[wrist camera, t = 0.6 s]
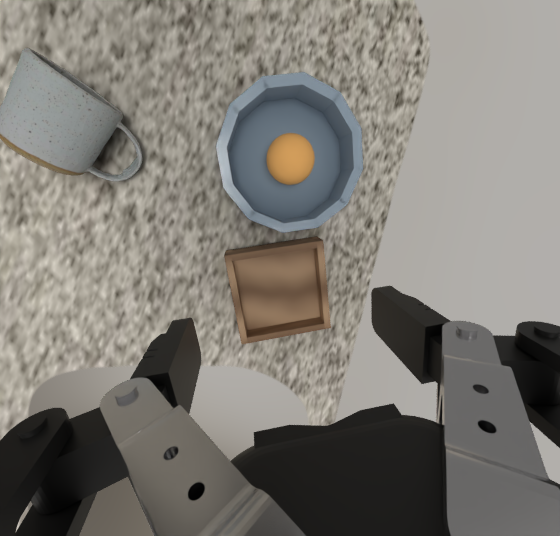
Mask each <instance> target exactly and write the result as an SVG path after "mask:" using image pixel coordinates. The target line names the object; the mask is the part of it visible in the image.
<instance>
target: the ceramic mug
mask: <svg viewBox="0 0 560 536" xmlns="http://www.w3.org/2000/svg"><path fill="white" fill-rule="evenodd" d="M122 118H123V114H122V113H121V112H120V111H119V110H118V109H117V108H116V107H115V106H114V105H112V104H111V103H109V102H108V101H107V100H106V99H105V98H103V97H102V96H101V95H99V94H98V93H96V92H95V91H94V90H93V89H91V88H90V87H88V86H87V85H86V84H84V83H83V82H81V81H80V80H78V79H77V78H76V77H74V76H73V75H71V74H70V73H68V72H67V71H66V70H64V69H63V68H61V67H59V66H58V65H56V64H55V63H53V62H52V61H50V60H48V59H47V58H45V57H44V56H42V55H40V54H38V53H37V52H35V51H33V50H31V49H30V48H25V49H24V50H23V51H22V54H21V57H20V60H19V62H18V65H17V67H16V70H15V72H14V75H13V77H12V80H11V82H10V86H9V88H8V91H7V94H6V96H5V99H4V101H3V103H2V105H1V108H0V138H1V140H2V141H3V142H4V143H5V144H6V145H7V146H8V147H10V148H11V149H12V150H14V151H15V152H17V153H18V154H20V155H22V156H23V157H25V158H27V159H29V160H31V161H33V162H35V163H37V164H39V165H41V166H43V167H46V168H48V169H50V170H53V171H56V172H58V173H62V174H66V175H81V174H83V173H85V172H86V171H87V172H91V173H92V174H94V175H96V176H97V177H100V178H103V179H105V180H110V181H122V180H126V179H129V178H130V177H132V176H133V175H134V174H135V173H136V172H137V171H138V170H139V168H140V166H141V164H142V151H141V148H140V145H139V143H138V141H137V139H136V138H135V137H134V135H133V134H132V133H131V132H130V131H129V130H128V129H127V128H126V126H124V125H123V124H122V123H121V120H122ZM117 127H118V128H120V129H122V130H123V131H124V132H125V133H126V135H127V136H128V137H129V138H130V139H131V141H132V142H133V144H134V146H135V149H136V153H137V158H136V159H135V160H134V162H133V163H132V164H131V166H130V167H128V168H127V169H125V170H124V171H123V173H122V174H120V175H111V174H108V173H104V172H102V171H100V170H98V169H96V168H94V167H93V166H92V164H93V163H94V161H95V160H96V159H97V157H98V156H99V154H100V153H101V150H102V148H103V147H104V145H105V144H106V143H107V141H108V140H109V139H110V137H111V135H112V134H113V132H114V131H115V129H116V128H117Z"/></svg>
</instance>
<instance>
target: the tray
mask: <svg viewBox="0 0 560 536" xmlns="http://www.w3.org/2000/svg"><path fill="white" fill-rule="evenodd" d="M224 257H225V262H226V267H227V272H228V277H229V282H230V287H231V292H232V297H233V302H234V308H235V313H236V318H237V323H238V328H239V333H240V338H241V343H242V344H246V343H252V342H257V341H262V340H268V339H273V338H278V337H284V336H289V335H294V334H300V333H305V332H311V331H316V330H321V329H327V328H331V326H330V315H329V303H328V291H327V280H326V268H325V256H324V245H323V240H322V239H320V238H318V237H310V238H304V239H297V240H291V241H284V242H278V243H272V244H265V245H259V246H252V247H246V248H239V249H233V250H227V251H226V252H225V255H224Z"/></svg>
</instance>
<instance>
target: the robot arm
mask: <svg viewBox="0 0 560 536" xmlns="http://www.w3.org/2000/svg"><path fill="white" fill-rule="evenodd" d="M372 325H373V328H374V330H375V332H376V334H377V335H378V336H379V337H380V338H381V339H382V340H383V341H384V342H385V344H386V345H387V346H388V347H389V348H390V349H391V350H392V351H393V352H394V353H395V355H396V356H397V357H398V358H399V359H400V360H401V361H402V362H403V364H404V365H405V366H406V367H407V368H408V369H409V370H410V371H411V372H412V374H413V375H414V376H415V377H416V378H417V379H418V380H419V381H420V382H421V384H424V383H429V382H434V381H436V382H437V383H438V385H437V408H436V422H434V421H431V420H428V419H424V418H420V417H416V416H408V415H401V413H400V412H399V411H398V409H397V408H396V406H395V405H394V404H389V405H385V406H379V407H374V408H370V409H365V410H360V411H358V412H356V413H354V414H352V415H350V416H348V417H346V418H344V419H342V420H340V421H338V422H336V423H334V424H331V425H328V426H310V425H306V426H305V425H287V426H283V427H277V428H272V429H268V430H263V431H258V432H254V446H252V447H250V448H249V449H247V450H245V451H243V452H242V453H240V454H239V455H237V456H236V457H235V458H234V459H232V460H231V461H230V460H229V459H228V458H227V457H226V456H225V455H224V454H223V452H222V451H221V450H220V449H219V448H218V447H217V446H216V445H215V444H214V442H213V441H212V440H211V439H210V438H209V437H208V436H207V434H206V433H205V432H204V431H203V430H202V429H201V428H200V426H199V425H198V424H197V423H196V422H195V421H194V420H193V419H192V417H191V416H190V415H189V412H190V408H191V404H192V400H193V395H194V391H195V387H196V382H197V378H198V374H199V369H200V365H201V352H200V347H199V343H198V338H197V334H196V330H195V326H194V322H193V320H192V318H186V319H180V320H174V321H172V323H171V325H170V327H169V328H168V330H167V332H166V333H165V334H160V335H159V336H158V337H157V338H156V339H155V340H153V341H152V342H151V344H150V346H149V347H148V349H147V352H145V354H144V356H143V359H141V361H140V363H139V365H138V366H137V368H136V370H135V372H134V373H133V375H132V377H131V378H130V380H127V381H125V382H122V383H121V384H119V385H117V386H115V387H114V388H112V389H111V390H110V391H109V392H107V393H106V394H105V396H104V397H103V398H102V400H101V402H100V407H99V408H96V409H94V410H92V411H89V412H87V413H84V414H81V415H79V416H76V417H74V418H71V419H69V417H68V415H67V413H66V411H65V410H64V409H62V408H52V409H48V410H44V411H41V412H39V413H37V414H34V415H32V416H30V417H28V418H27V419H25V420H23V421H22V422H20V423H19V424H17V425H16V426H15V427H13V428H12V429H11V430H10V431H9V432H8V433H7V434H6V435H5V436H4V437H3V438H2V439H1V440H0V536H79V534H80V532H81V530H82V527H83V525H84V522H85V520H86V517H87V515H88V513H89V510H90V508H91V505H92V503H93V501H94V499H95V496H96V494H97V492H98V491H100V490H102V489H104V488H106V487H108V486H110V485H112V484H114V483H116V482H118V481H120V480H122V479H124V478H126V477H128V478H129V480H130V483H131V485H132V487H133V489H134V492H135V494H136V496H137V498H138V501H139V503H140V505H141V507H142V510H143V512H144V514H145V516H146V519H147V521H148V523H149V525H150V528H151V530H152V532H153V535H154V536H560V484H558V483H555V482H554V481H552V480H550V479H549V477H548V475H547V473H546V470H545V467H544V464H543V461H542V458H541V455H540V452H539V449H538V446H537V443H536V440H535V437H534V434H533V431H532V428H531V425H530V422H531V423H532V424H533V425H534V426H535V427H536V428H538V429H539V430H540V431H541V432H542V433H543V434H544V435H546V436H547V437H548V438H549V439H550V440H551V441H552V442H554V443H555V444H556V445H557V446H558V447H559V448H560V326H556V325H553V324H549V323H544V322H535V321H534V322H532V321H531V322H530V321H528V322H522V323H520V324H518V325H517V330H516V335H515V336H493V335H492V333H491V332H490V331H489V330H488V329H486V328H485V327H483V326H481V325H478V324H475V323H471V322H466V321H450V320H448V319H446V318H445V317H443V316H442V315H441V314H439V313H437V312H436V311H434V310H433V309H431V308H430V307H428V306H427V305H424V304H423V303H422V302H420V301H419V300H418V299H416V298H414V297H411V296H408V295H405V294H402V293H400V292H399V291H398V290H396V289H395V288H393V287H392V286H385V287H379V288H374V289H373V290H372ZM529 421H530V422H529ZM30 501H31V502H32V504H33V505H32V507H31V508H30V510H29V512H28V513H27V515H26V517H25V518H24V520H23V521H22V523H21V525H20V526H19V528H18V530H17V531H16V528H17V524H18V522H19V519H20V517H21V515H22V514H23V512H24V510H25V509H26V507H27V506H28V504H29V502H30ZM15 532H16V533H15Z"/></svg>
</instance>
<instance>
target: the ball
mask: <svg viewBox="0 0 560 536" xmlns="http://www.w3.org/2000/svg"><path fill="white" fill-rule="evenodd" d="M266 161H267V167H268V170H269V172H270V174H271V175H272V176H273V178H274V179H276V180H277V181H278V182H280V183H283V184H286V185H294V184H298V183H300V182H302V181H304V180H305V179H306V178H307V177H308V176H309V175H310V173H311V171H312V169H313V166H314V161H315V156H314V151H313V148H312V146H311V144H310V143H309V141H308V140H307V139H306V138H304V137H303V136H301V135H299V134H296V133H286V134H283V135H280V136H279V137H277V138H276V139H275V140H274V141H273V142H272V143H271V145H270V146H269V149H268V152H267V158H266Z"/></svg>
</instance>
